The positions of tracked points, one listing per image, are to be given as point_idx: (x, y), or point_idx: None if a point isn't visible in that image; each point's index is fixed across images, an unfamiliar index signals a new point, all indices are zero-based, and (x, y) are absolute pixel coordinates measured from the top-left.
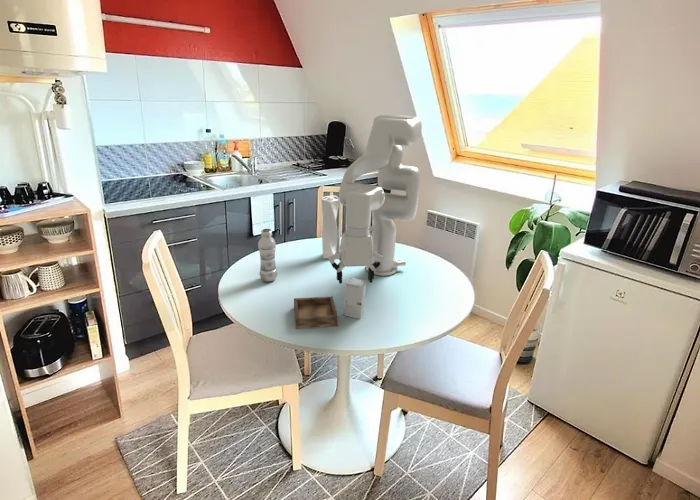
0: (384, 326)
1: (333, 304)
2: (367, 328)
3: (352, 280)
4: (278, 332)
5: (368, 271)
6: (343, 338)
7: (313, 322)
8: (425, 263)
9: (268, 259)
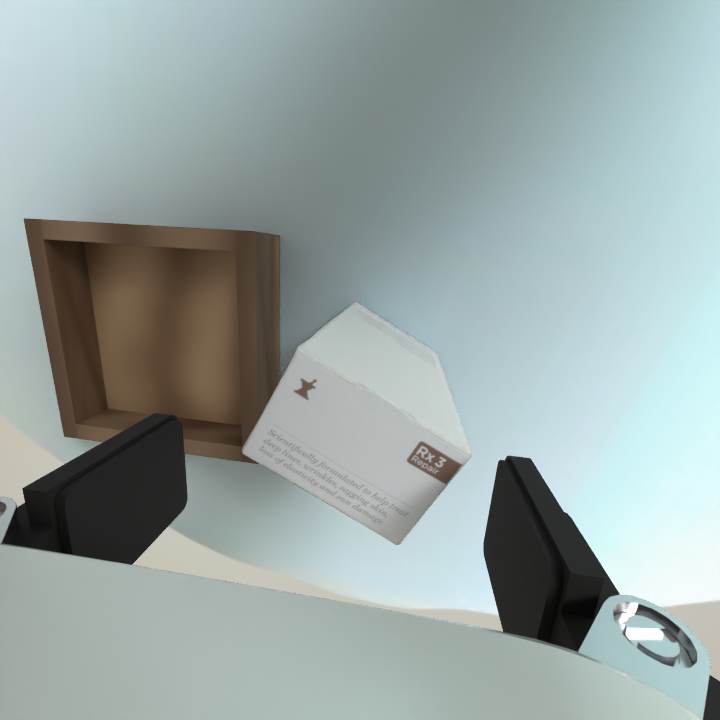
0: None
1: (249, 339)
2: None
3: (316, 426)
4: (47, 421)
5: (528, 541)
6: (291, 521)
7: None
8: None
9: None
